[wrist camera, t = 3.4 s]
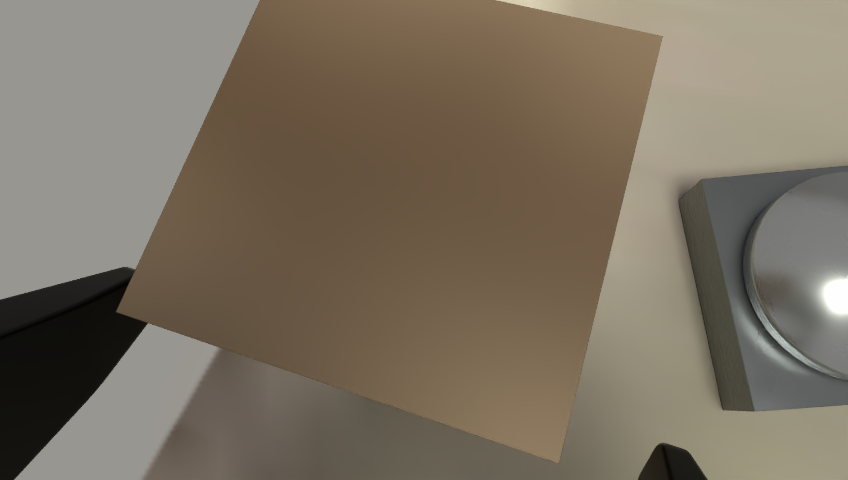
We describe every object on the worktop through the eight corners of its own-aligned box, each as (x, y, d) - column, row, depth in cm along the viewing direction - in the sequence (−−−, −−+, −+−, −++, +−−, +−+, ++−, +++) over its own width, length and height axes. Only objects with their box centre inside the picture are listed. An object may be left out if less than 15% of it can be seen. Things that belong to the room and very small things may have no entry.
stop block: (495, 418, 18) (558, 463, 5) (351, 370, 19) (115, 311, 6) (535, 273, 19) (663, 36, 7) (398, 233, 20) (281, -47, 7)
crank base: (723, 410, 17) (754, 411, 15) (678, 201, 19) (701, 179, 17) (956, 393, 17) (1018, 392, 15) (886, 181, 19) (933, 157, 17)
